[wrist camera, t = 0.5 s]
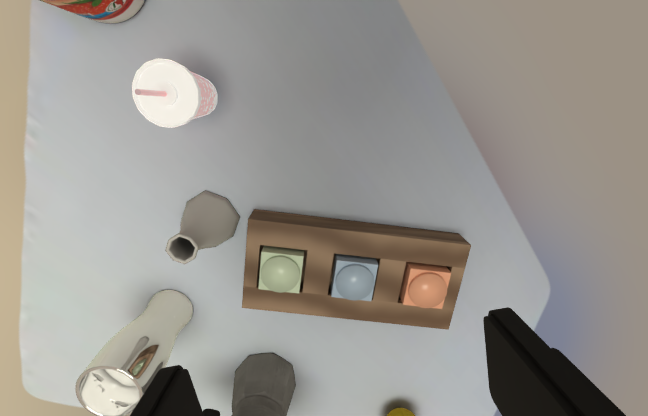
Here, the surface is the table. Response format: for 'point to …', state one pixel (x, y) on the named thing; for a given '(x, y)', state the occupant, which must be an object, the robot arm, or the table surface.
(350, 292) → the slate blue button
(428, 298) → the terracotta button
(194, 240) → the flask
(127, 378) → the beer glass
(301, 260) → the sage green button
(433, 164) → the table surface
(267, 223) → the button panel
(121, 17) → the fruit juice
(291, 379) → the coffeepot
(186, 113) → the beverage cup
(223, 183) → the table surface
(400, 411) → the lemon
